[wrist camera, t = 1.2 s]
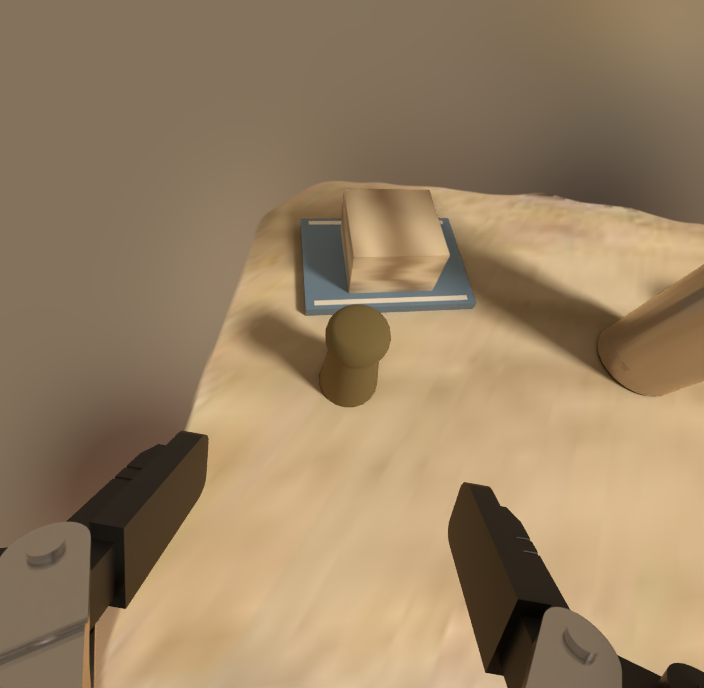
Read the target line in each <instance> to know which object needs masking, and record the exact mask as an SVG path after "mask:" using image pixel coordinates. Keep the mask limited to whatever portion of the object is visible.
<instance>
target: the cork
mask: <svg viewBox="0 0 704 688" xmlns="http://www.w3.org/2000/svg"><path fill="white" fill-rule="evenodd" d="M390 341H391V335H390V327H389V325H388V322H387V320H386V319H385V318H384V317H383V315H382V314H381V313H380V312H379V311H377V310H376V309H374V308H372V307H370V306H367V305H363V304H353V305H349V306H345V307H343V308H341V309H340V310H338V311H336V312H335V314H334V315H333V316H332V317H331V318H330V320H329V322H328V325H327V327H326V345H327V347H328V353H327V356H326V359H325V361H324V364H323V367H322V369H321V372H320V375H319V384H320V387H321V390H322V392H323V394H324V395H325V396H326V398H327V399H328V400H330V401H331V402H333V403H334V404H336V405H339V406H342V407H356V406H359V405H362V404H364V403H365V402H366V401H368V400H369V399H370V398H371V396H372V395H373V394H374V392H375V389H376V385H377V377H378V365H379V361H380V360H381V359H382V358H383V357H384V355H385V354H386V352H387V351H388V348H389V345H390Z"/></svg>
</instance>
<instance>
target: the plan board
mask: <svg viewBox="0 0 704 688" xmlns="http://www.w3.org/2000/svg"><path fill="white" fill-rule="evenodd" d="M438 219H439V222H440V225H441V228H442V232H443V235H444V238H445V241H446V244H447V247H448V250H449V254H450V256H449V258H448V260H447V262H446V264H445V266H444V268H443V270H442V272H441V274H440V276H439V278H438V280H437V282H436V284H435V286H434V288H433V290H432V291H406V292H376V293H349V291H348V283H347V276H346V268H345V260H344V252H343V244H342V237H341V220H342V219H301V234H302V252H303V271H304V289H305V308H306V316H309V315H333V314H335V312H336V311H338V310H340V309H341V308H343V307H345V306H349V305H353V304H363V305H367V306H370V307H372V308H374V309H376V310H377V311H379V312H380V313H381V312H405V311H429V310H453V309H472V308H473V307H474V306H475V304H476V300H475V297H474V294H473V291H472V288H471V285H470V282H469V279H468V276H467V273H466V270H465V267H464V264H463V261H462V258H461V255H460V252H459V249H458V247H457V244H456V241H455V238H454V235H453V232H452V229H451V226H450V223H449V220H448V218H438Z"/></svg>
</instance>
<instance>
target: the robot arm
mask: <svg viewBox="0 0 704 688" xmlns="http://www.w3.org/2000/svg"><path fill="white" fill-rule="evenodd" d="M597 347H598V353H599V356H600V358H601V361H602V363H603V364H604V366H605V368H606V369H607V370H608V372H609V373H610V374H611V375H612V376H613V377H614V378H615V379H616V380H617V381H618V382H619V383H620V384H622V385H623V386H625V387H626V388H628V389H630V390H632V391H634V392H636V393H639V394H642V395H645V396H653V397H655V396H662V395H665V394H668V393H671V392H674V391H676V390H679V389H682V388H685V387H688V386H691V385H693V384H696V383H700V382H702V381H704V265H702V266H701V267H699V268H697V269H696V270H694V271H693V272H691V273H690V274H688V275H687V276H685V277H684V278H682V279H681V280H679V281H678V282H676V283H675V284H673V285H672V286H670V287H669V288H667V289H666V290H664V291H663V292H661V293H660V294H658V295H657V296H655V297H653V298H652V299H650V300H649V301H647V302H646V303H644V304H643V305H641V306H640V307H638V308H637V309H635V310H634V311H632V312H631V313H629V314H628V315H626V316H625V317H623V318H621V319H620V320H618V321H617V322H615V323H614V324H612V325H611V326H609V327H608V328H606V329H605V330H604V331H603V332H602V333H601V334H600V336H599V339H598V346H597ZM207 457H208V436H207V435H204V434H198V433H193V432H187V431H181V432H179V433H178V434H177V435H176V436H175V437H174V438H173V439H172V440H171V441H170V442H169V443H168V444H167V445H160V444H158V445H156V446H154V447H152V448H150V449H148V450H146V451H144V452H142V453H140V454H139V455H138V456H137V457H136V458H135V459H134V460H133V461H131V462H130V463H129V464H128V465H127V467H126V468H124V469H123V470H122V471H121V472H120V473H119V474H117V475H116V477H115V479H112V480H111V481H110V482H109V483H108V484H106V485H105V486H104V487H103V488H102V489H101V490H100V491H99V492H98V493H97V494H96V495H95V496H94V497H92V498H91V499H90V500H89V501H88V502H87V503H86V504H85V505H84V506H83V507H81V509H79V511H77V512H76V513H75V514H74V515H73V516H72V517H71V518H70V519H69V520H67V521H66V522H58V523H53V524H49V525H46V526H43V527H40V528H38V529H35V530H33V531H31V532H29V533H27V534H26V535H24V536H22V537H20V538H19V539H18V540H17V541H15V542H14V543H12V545H10V546H9V547H7V548H0V688H95V667H96V662H95V661H96V622H97V621H98V620H99V618H100V617H101V615H102V614H103V613H104V611H105V610H106V608H107V607H108V606H112V607H118V608H124V609H126V608H127V606H128V605H129V603H130V602H131V600H132V599H133V597H134V596H135V594H136V593H137V591H138V590H139V588H140V587H141V585H142V584H143V582H144V580H145V579H146V577H147V576H148V574H149V573H150V571H151V570H152V568H153V567H154V565H155V564H156V562H157V561H158V559H159V558H160V556H161V555H162V553H163V552H164V550H165V549H166V547H167V546H168V544H169V543H170V541H171V540H172V538H173V537H174V535H175V534H176V532H177V531H178V529H179V527H180V526H181V524H182V523H183V521H184V520H185V518H186V517H187V515H188V514H189V512H190V511H191V509H192V508H193V506H194V505H195V503H196V502H197V500H198V499H199V497H200V495H201V493H202V490H203V488H204V485H205V481H206V472H207ZM448 540H449V545H450V548H451V552H452V555H453V559H454V563H455V566H456V570H457V573H458V577H459V580H460V584H461V587H462V591H463V595H464V598H465V602H466V605H467V609H468V612H469V616H470V620H471V623H472V627H473V630H474V634H475V637H476V641H477V644H478V648H479V652H480V655H481V659H482V662H483V666H484V669H485V673H490V674H496V675H502V676H504V678H505V681H506V684H507V687H508V688H704V672H702V671H700V670H698V669H696V668H694V667H692V666H689V665H686V664H682V663H673V664H671V665H670V666H669V667H668V668H667V670H666V671H665V673H664V674H663V676H662V677H661V676H659V675H657V674H655V673H653V672H651V671H649V670H647V669H645V668H643V667H641V666H639V665H636V664H634V663H632V662H630V661H628V660H626V659H624V658H622V657H620V656H618V655H617V654H616V652H615V650H614V649H613V647H612V645H611V644H610V643H609V641H608V640H607V639H606V637H605V636H604V635H603V634H602V633H601V632H600V631H599V630H598V629H597V628H596V627H595V626H594V625H593V624H592V623H590V622H589V621H588V620H587V619H585V618H584V617H582V616H581V615H579V614H577V613H575V612H573V611H571V610H570V609H569V607H568V605H567V603H566V602H565V600H564V598H563V596H562V594H561V593H560V591H559V589H558V587H557V586H556V584H555V582H554V580H553V578H552V577H551V575H550V573H549V571H548V570H547V568H546V566H545V564H544V562H543V561H542V559H541V557H540V556H538V552H537V550H536V548H535V546H534V545H533V543H532V542H531V541H530V538H529V536H528V534H527V532H526V530H525V529H524V527H523V525H522V523H521V522H520V521H519V520H518V519H517V518H516V517H515V516H514V515H513V514H512V513H511V511H510V510H509V509H508V508H507V507H502V506H500V504H499V502H498V500H497V498H496V496H495V495H494V493H493V491H492V489H491V488H490V487H489V486H483V485H478V484H472V483H467V482H464V483H463V484H462V485H461V487H460V490H459V493H458V496H457V499H456V502H455V505H454V508H453V511H452V515H451V518H450V521H449V526H448Z"/></svg>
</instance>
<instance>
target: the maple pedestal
mask: <svg viewBox="0 0 704 688" xmlns="http://www.w3.org/2000/svg"><path fill="white" fill-rule="evenodd" d="M341 237H342V244H343V252H344V260H345V268H346V276H347V283H348V291H349V293H376V292H406V291H432V290H433V288H434V286H435V284H436V282H437V280H438V278H439V276H440V274H441V272H442V270H443V268H444V266H445V264H446V262H447V260H448V258H449V256H450V254H449V250H448V247H447V244H446V241H445V238H444V235H443V232H442V228H441V225H440V222H439V219H438V216H437V213H436V209H435V206H434V203H433V200H432V197H431V194H430V191H429V190H394V189H344V195H343V207H342V220H341Z"/></svg>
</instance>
